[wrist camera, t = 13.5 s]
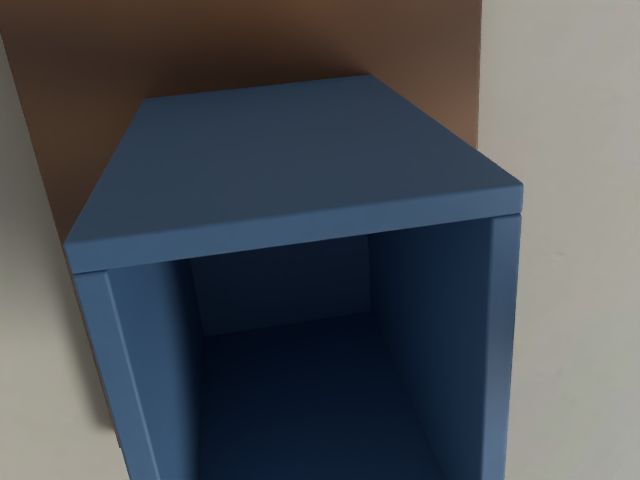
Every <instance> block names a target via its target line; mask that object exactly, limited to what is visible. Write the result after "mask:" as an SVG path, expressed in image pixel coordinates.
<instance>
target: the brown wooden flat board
mask: <svg viewBox="0 0 640 480" xmlns="http://www.w3.org/2000/svg"><path fill="white" fill-rule="evenodd" d="M481 14H482V0H0V33H1V36H2V40H3V43H4V47H5V50H6V54H7V57H8V61H9V64H10V68H11V71H12V75H13V78H14V82H15V85H16V89H17V92H18V96H19V99H20V103H21V106H22V110H23V113H24V117H25V120H26V124H27V127H28V131H29V134H30V138H31V141H32V145H33V148H34V151H35V155H36V158H37V162H38V165H39V169H40V172H41V176H42V179H43V183H44V186H45V190H46V193H47V197H48V200H49V204H50V207H51V211H52V214H53V218H54V221H55V225H56V228H57V232H58V235H59V239H60V242H61V246H62V249H63V253H64V256H65V260H66V263H67V267H68V270H69V274H70V277H71V280H72V284H73V287H74V291H75V294H76V298H77V301H78V305H79V308H80V312H81V315H82V319H83V322H84V326H85V329H86V333H87V336H88V340H89V343H90V347H91V350H92V354H93V357H94V361H95V364H96V368H97V371H98V375H99V378H100V382H101V385H102V389H103V392H104V396H105V399H106V403H107V406H108V409H109V413H110V416H111V420H112V423H113V427H114V430H115V434H116V437H117V441H118V444H119V448H121V446H120V443H119V439H118V436H117V432H116V429H115V425H114V422H113V418H112V415H111V411H110V408H109V404H108V401H107V397H106V394H105V390H104V387H103V383H102V380H101V376H100V373H99V369H98V366H97V362H96V359H95V355H94V352H93V348H92V345H91V341H90V338H89V334H88V331H87V327H86V324H85V320H84V317H83V313H82V310H81V306H80V303H79V299H78V296H77V292H76V289H75V285H74V282H73V278H72V277H73V273H71V271H70V268H69V264H68V261H67V257H66V254H65V250H64V247H63V244H64V242H65V240H66V238H67V236H68V234H69V233H70V231H71V229H72V227H73V225H74V224H75V222H76V220H77V218H78V216H79V215H80V213H81V211H82V209H83V207H84V206H85V204H86V202H87V200H88V199H89V197H90V195H91V193H92V191H93V190H94V188H95V186H96V184H97V182H98V181H99V179H100V177H101V175H102V173H103V172H104V170H105V168H106V166H107V164H108V163H109V161H110V159H111V157H112V155H113V154H114V152H115V150H116V148H117V146H118V145H119V143H120V141H121V139H122V138H123V136H124V134H125V132H126V130H127V129H128V127H129V125H130V123H131V121H132V120H133V118H134V116H135V114H136V112H137V111H138V109H139V107H140V105H141V103H142V101H143V100H144V99H146V98H155V97H165V96H174V95H183V94H192V93H202V92H211V91H220V90H229V89H238V88H248V87H257V86H266V85H275V84H285V83H294V82H303V81H312V80H321V79H331V78H340V77H349V76H358V75H367V74H372V75H373V76H375V77H376V78H378V79H379V80H380V81H382V82H383V83H384V84H386V85H387V86H389V87H390V88H391V89H393V90H394V91H396V92H397V93H398V94H400V95H401V96H402V97H404V98H405V99H407V100H408V101H409V102H411V103H412V104H414V105H415V106H416V107H418V108H419V109H421V110H422V111H423V112H425V113H426V114H427V115H429V116H430V117H432V118H433V119H434V120H436V121H437V122H439V123H440V124H441V125H443V126H444V127H445V128H447V129H448V130H450V131H451V132H452V133H454V134H455V135H457V136H458V137H459V138H461V139H462V140H464V141H465V142H466V143H468V144H469V145H470V146H472V147H473V148H475V149H476V150H477V143H478V111H479V78H480V46H481Z"/></svg>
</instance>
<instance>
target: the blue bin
mask: <svg viewBox="0 0 640 480" xmlns="http://www.w3.org/2000/svg"><path fill="white" fill-rule="evenodd" d="M523 188H524V186H523V183H522V182H520V181H519V180H518V179H516V178H515V177H513V176H512V175H511V174H509V173H508V172H507V171H505V170H504V169H502V168H501V167H500V166H498V165H497V164H495V163H494V162H493V161H491V160H490V159H488V158H487V157H486V156H484V155H483V154H482V153H480V152H479V151H477V150H476V149H475V148H473V147H472V146H470V145H469V144H468V143H466V142H465V141H464V140H462V139H461V138H459V137H458V136H457V135H455V134H454V133H452V132H451V131H450V130H448V129H447V128H445V127H444V126H443V125H441V124H440V123H439V122H437V121H436V120H434V119H433V118H432V117H430V116H429V115H427V114H426V113H425V112H423V111H422V110H421V109H419V108H418V107H416V106H415V105H414V104H412V103H411V102H409V101H408V100H407V99H405V98H404V97H402V96H401V95H400V94H398V93H397V92H396V91H394V90H393V89H391V88H390V87H389V86H387V85H386V84H384V83H383V82H382V81H380V80H379V79H378V78H376V77H375V76H373V75H372V74H367V75H358V76H349V77H340V78H331V79H321V80H312V81H303V82H294V83H285V84H275V85H266V86H257V87H248V88H238V89H229V90H220V91H211V92H202V93H192V94H183V95H174V96H165V97H155V98H146V99H144V100H143V101H142V103H141V105H140V107H139V109H138V111H137V112H136V114H135V116H134V118H133V120H132V121H131V123H130V125H129V127H128V129H127V130H126V132H125V134H124V136H123V138H122V139H121V141H120V143H119V145H118V146H117V148H116V150H115V152H114V154H113V155H112V157H111V159H110V161H109V163H108V164H107V166H106V168H105V170H104V172H103V173H102V175H101V177H100V179H99V181H98V182H97V184H96V186H95V188H94V190H93V191H92V193H91V195H90V197H89V199H88V200H87V202H86V204H85V206H84V207H83V209H82V211H81V213H80V215H79V216H78V218H77V220H76V222H75V224H74V225H73V227H72V229H71V231H70V233H69V234H68V236H67V238H66V240H65V242H64V244H63V247H64V250H65V254H66V257H67V261H68V264H69V268H70V271H71V273H73V277H72V278H73V282H74V285H75V289H76V292H77V296H78V299H79V303H80V306H81V310H82V313H83V317H84V320H85V324H86V327H87V331H88V334H89V338H90V341H91V345H92V348H93V352H94V355H95V359H96V362H97V366H98V369H99V373H100V376H101V380H102V383H103V387H104V390H105V394H106V397H107V401H108V404H109V408H110V411H111V415H112V418H113V422H114V425H115V429H116V432H117V436H118V439H119V443H120V446H121V450H122V453H123V457H124V460H125V464H126V467H127V471H128V474H129V478H130V480H504V476H505V461H506V446H507V431H508V416H509V400H510V385H511V370H512V355H513V340H514V325H515V310H516V294H517V279H518V264H519V249H520V234H521V219H522V217H521V214H520V213H521V212H522V203H523Z"/></svg>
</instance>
